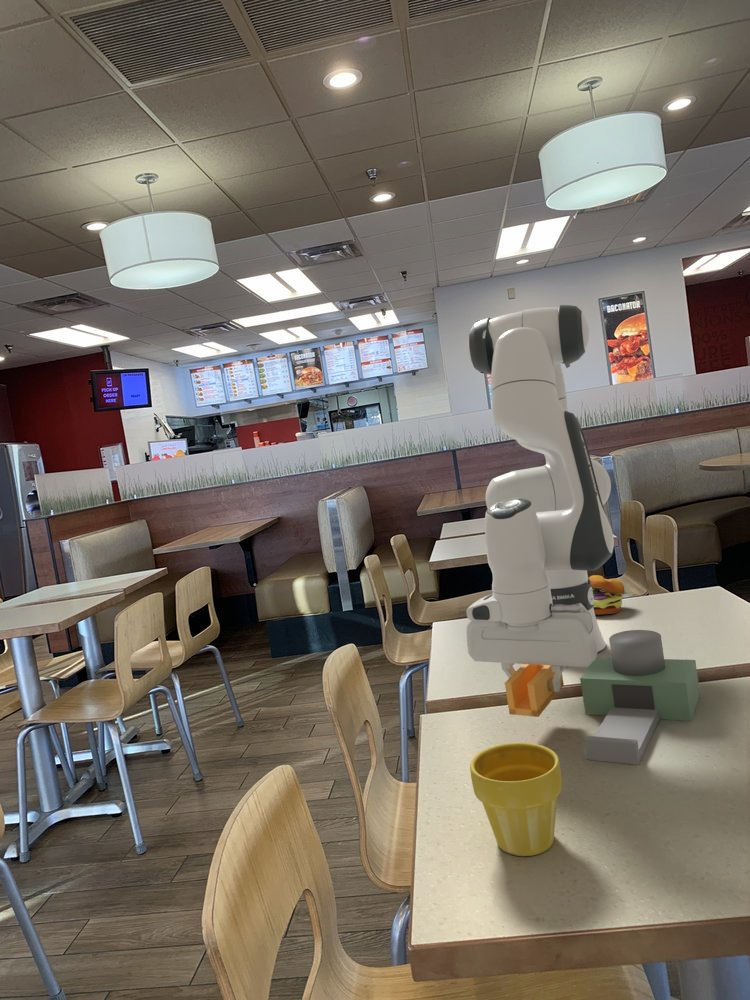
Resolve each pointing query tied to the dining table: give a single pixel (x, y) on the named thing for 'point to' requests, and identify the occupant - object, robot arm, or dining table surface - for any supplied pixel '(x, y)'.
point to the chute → (530, 690)
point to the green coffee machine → (635, 695)
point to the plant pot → (519, 794)
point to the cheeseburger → (606, 594)
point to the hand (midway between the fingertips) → (536, 689)
